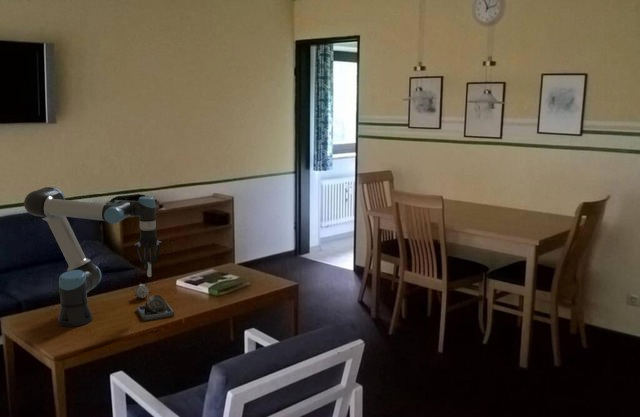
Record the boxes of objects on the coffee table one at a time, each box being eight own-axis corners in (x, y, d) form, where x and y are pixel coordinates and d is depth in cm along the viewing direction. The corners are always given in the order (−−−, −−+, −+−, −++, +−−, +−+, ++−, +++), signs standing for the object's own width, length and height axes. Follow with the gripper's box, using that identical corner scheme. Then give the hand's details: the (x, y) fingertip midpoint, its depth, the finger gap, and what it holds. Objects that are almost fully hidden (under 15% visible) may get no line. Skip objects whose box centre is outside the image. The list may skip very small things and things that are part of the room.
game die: (146, 304, 321) (157, 290, 319) (134, 303, 314) (145, 289, 312) (138, 293, 325) (149, 279, 324) (126, 291, 318) (137, 277, 316)
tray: (143, 321, 288) (143, 316, 288) (136, 310, 302) (136, 306, 301) (174, 315, 295) (174, 311, 294) (166, 305, 308) (166, 301, 308)
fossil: (161, 315, 291) (151, 297, 290) (146, 322, 294) (136, 304, 293) (171, 307, 301) (161, 289, 301) (157, 313, 304) (147, 296, 303)
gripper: (135, 231, 284) (137, 279, 289) (163, 229, 290) (164, 276, 295) (132, 228, 291) (134, 275, 295) (159, 226, 297) (161, 272, 301)
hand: (149, 276), depth 295 cm, fingers closed
